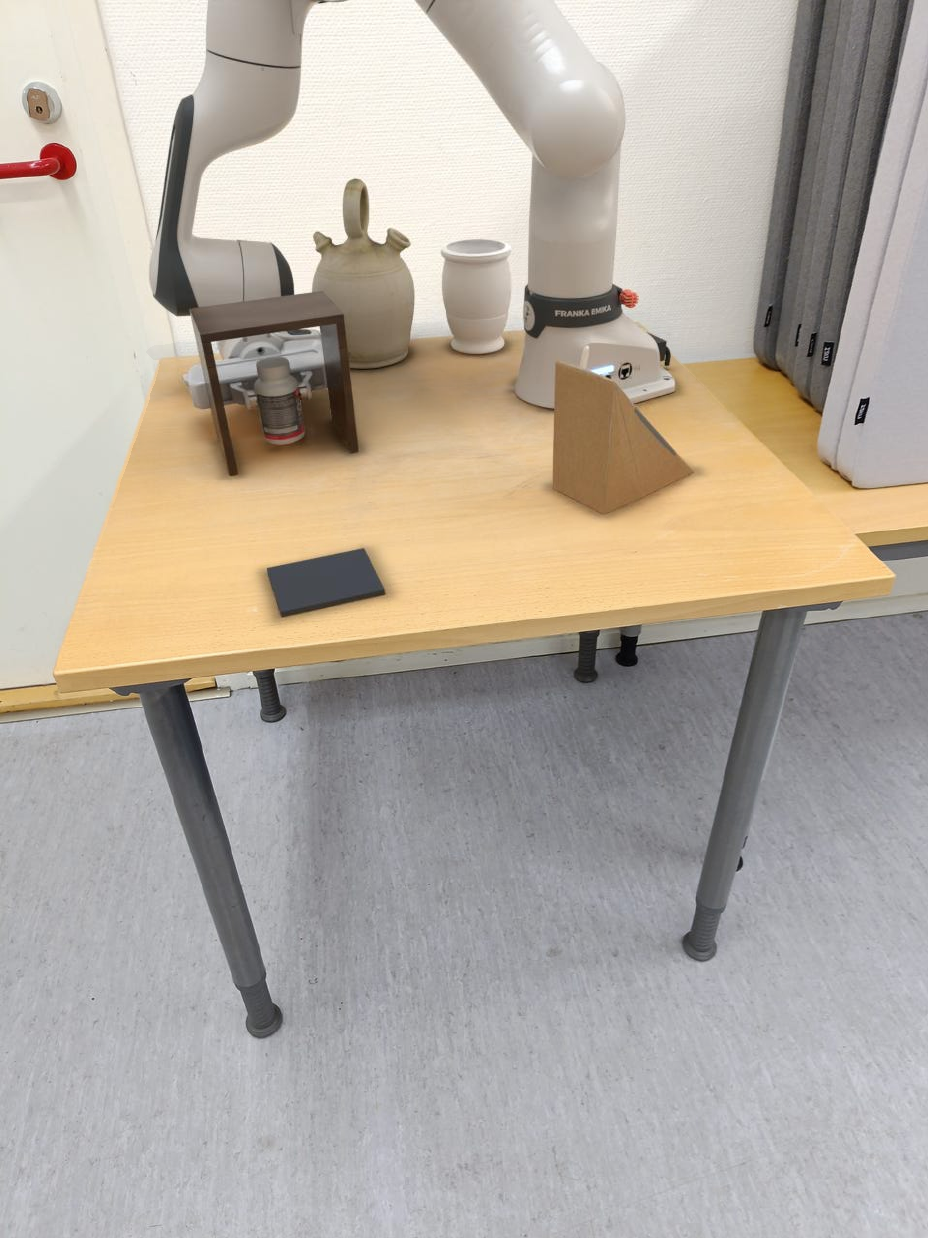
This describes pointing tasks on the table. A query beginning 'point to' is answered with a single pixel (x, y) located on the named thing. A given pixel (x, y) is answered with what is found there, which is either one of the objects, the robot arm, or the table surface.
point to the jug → (367, 285)
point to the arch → (273, 319)
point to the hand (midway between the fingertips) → (279, 398)
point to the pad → (324, 582)
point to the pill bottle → (278, 402)
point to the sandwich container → (606, 443)
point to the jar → (476, 293)
